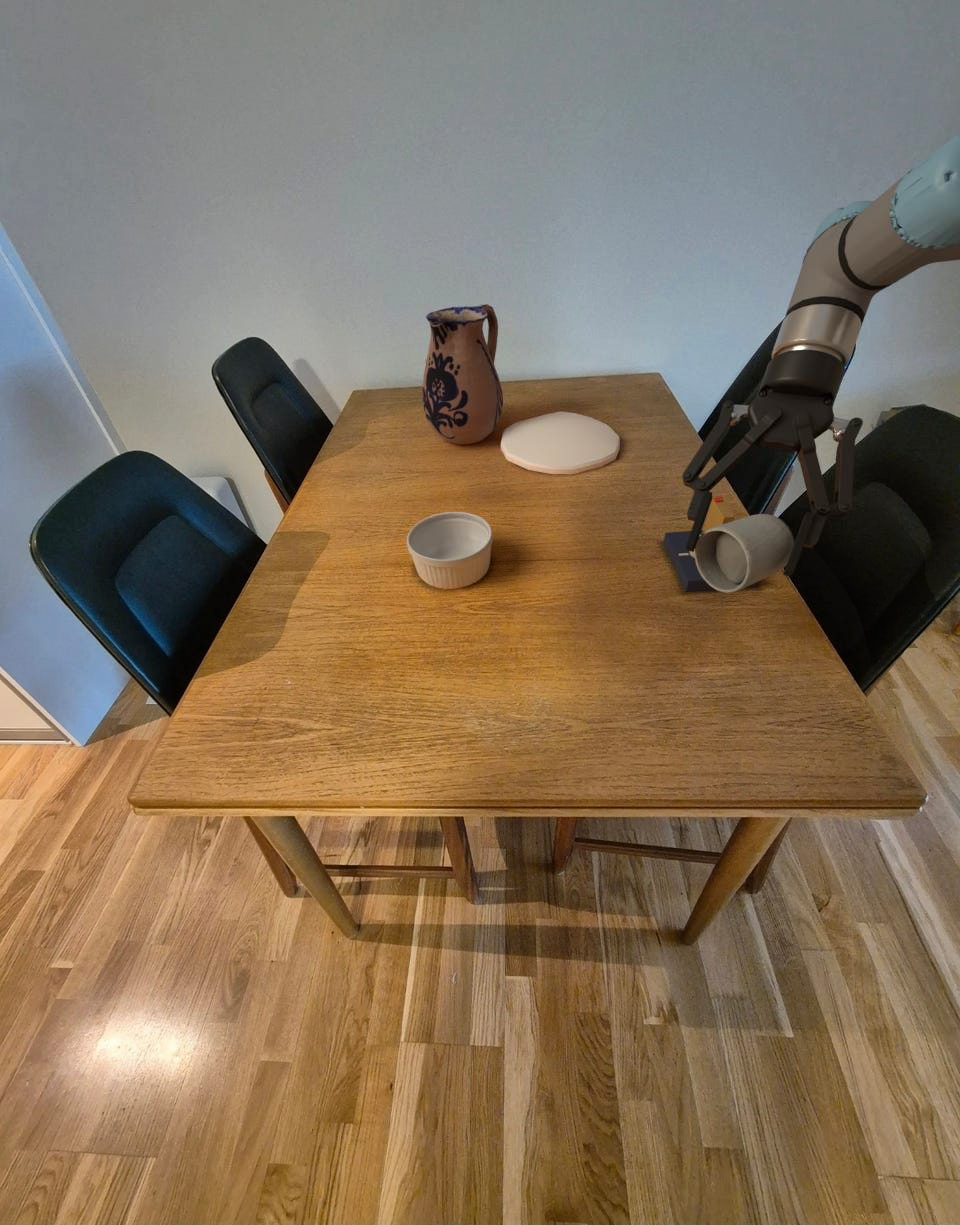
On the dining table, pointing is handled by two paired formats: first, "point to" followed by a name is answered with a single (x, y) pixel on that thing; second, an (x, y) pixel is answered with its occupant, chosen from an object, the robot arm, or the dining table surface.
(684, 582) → the panel
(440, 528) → the ramekin
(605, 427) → the decorative plate
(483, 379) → the ceramic pitcher
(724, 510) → the knob
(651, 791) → the dining table surface
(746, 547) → the ceramic mug
